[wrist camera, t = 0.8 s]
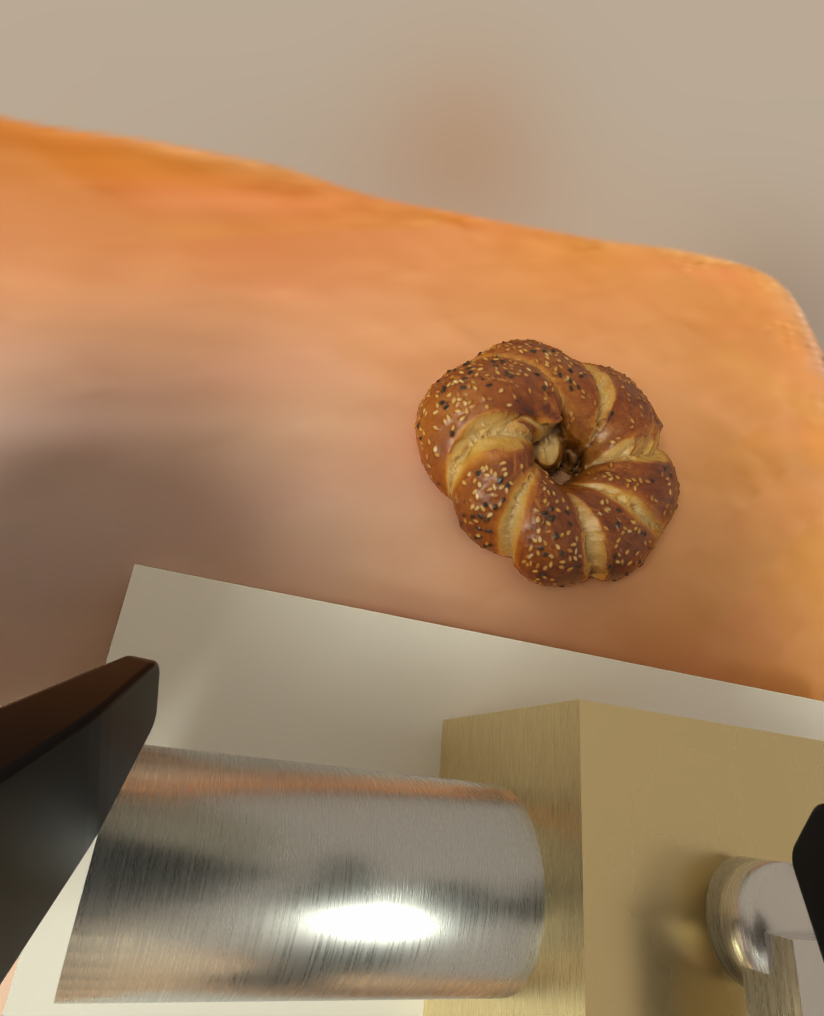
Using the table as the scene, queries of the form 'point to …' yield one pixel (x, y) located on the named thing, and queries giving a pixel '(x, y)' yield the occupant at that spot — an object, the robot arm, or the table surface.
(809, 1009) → the valve lever
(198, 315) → the table surface
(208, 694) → the mount board
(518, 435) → the pretzel
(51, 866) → the robot arm
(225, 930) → the valve body
